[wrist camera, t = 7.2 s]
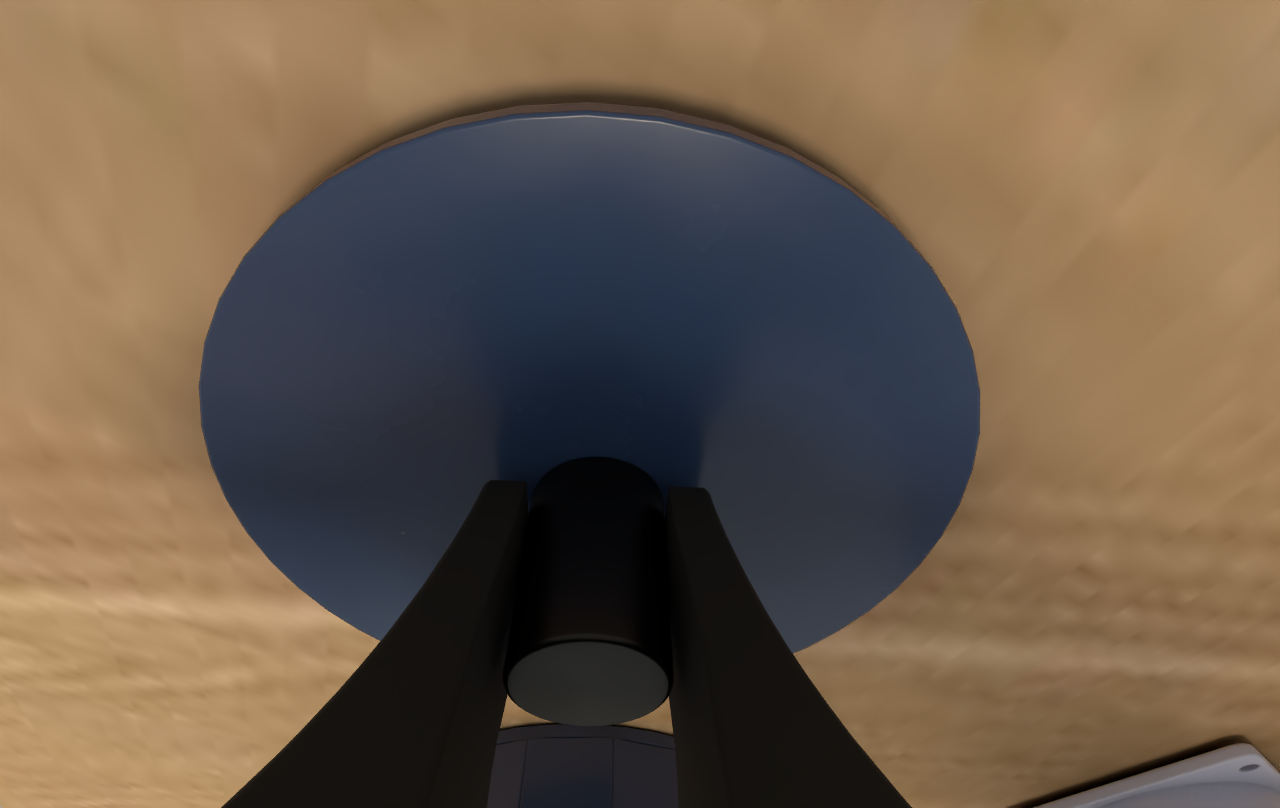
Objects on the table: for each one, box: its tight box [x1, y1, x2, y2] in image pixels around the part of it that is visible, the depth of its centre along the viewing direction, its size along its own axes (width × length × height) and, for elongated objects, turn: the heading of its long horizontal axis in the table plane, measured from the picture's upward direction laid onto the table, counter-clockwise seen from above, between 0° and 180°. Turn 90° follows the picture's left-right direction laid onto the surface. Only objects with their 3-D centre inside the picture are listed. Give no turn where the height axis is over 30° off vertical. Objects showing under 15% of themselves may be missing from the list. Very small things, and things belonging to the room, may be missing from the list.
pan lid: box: [199, 102, 980, 726], centre depth 11 cm, size 13×13×5 cm
